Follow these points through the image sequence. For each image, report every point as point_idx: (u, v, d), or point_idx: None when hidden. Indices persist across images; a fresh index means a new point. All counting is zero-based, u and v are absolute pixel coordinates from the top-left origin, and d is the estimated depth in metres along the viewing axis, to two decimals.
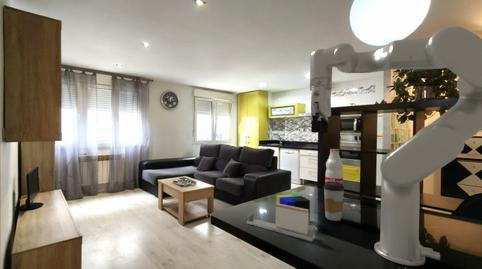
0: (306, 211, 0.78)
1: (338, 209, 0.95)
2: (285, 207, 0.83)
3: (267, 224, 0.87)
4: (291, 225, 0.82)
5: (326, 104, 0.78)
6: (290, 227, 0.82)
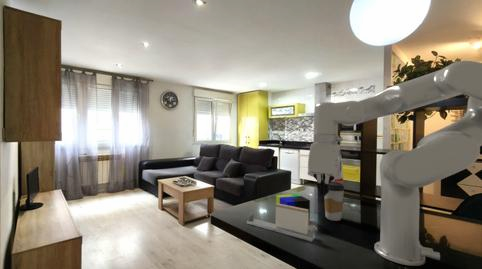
0: (306, 211, 0.78)
1: (338, 209, 0.95)
2: (285, 207, 0.83)
3: (267, 224, 0.87)
4: (291, 225, 0.82)
5: None
6: (290, 227, 0.82)
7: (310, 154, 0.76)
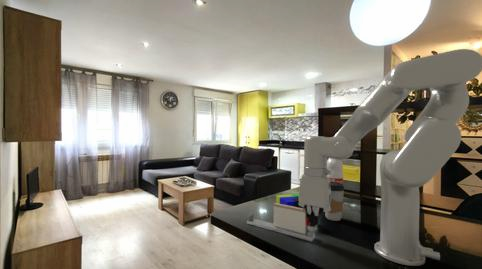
0: (304, 211, 0.79)
1: (338, 209, 0.95)
2: (283, 207, 0.83)
3: (267, 224, 0.87)
4: (289, 224, 0.82)
5: None
6: (288, 226, 0.82)
7: (300, 186, 0.78)
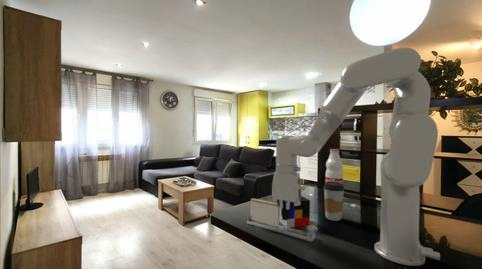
0: (277, 205, 0.85)
1: (338, 209, 0.95)
2: (259, 202, 0.89)
3: (267, 224, 0.87)
4: (264, 218, 0.88)
5: None
6: (263, 220, 0.88)
7: (273, 182, 0.84)
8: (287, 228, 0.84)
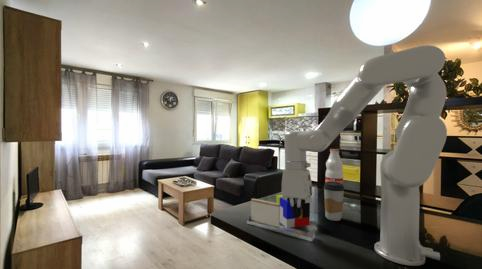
0: (277, 205, 0.85)
1: (338, 209, 0.95)
2: (259, 202, 0.89)
3: (267, 224, 0.87)
4: (264, 218, 0.88)
5: None
6: (263, 220, 0.88)
7: (283, 179, 0.82)
8: (287, 228, 0.84)
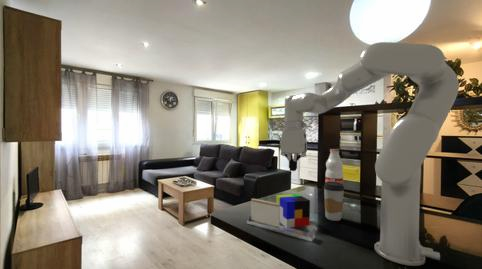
0: (277, 205, 0.85)
1: (338, 209, 0.95)
2: (259, 202, 0.89)
3: (267, 224, 0.87)
4: (264, 218, 0.88)
5: None
6: (263, 220, 0.88)
7: (282, 138, 0.94)
8: (287, 228, 0.84)
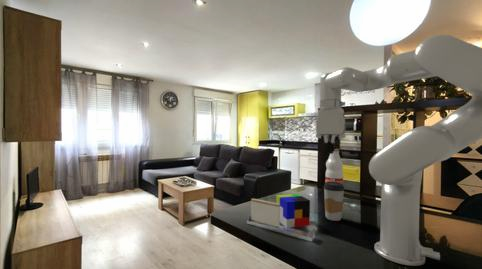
0: (277, 205, 0.85)
1: (338, 209, 0.95)
2: (259, 202, 0.89)
3: (267, 224, 0.87)
4: (264, 218, 0.88)
5: None
6: (263, 220, 0.88)
7: (318, 118, 0.88)
8: (287, 228, 0.84)
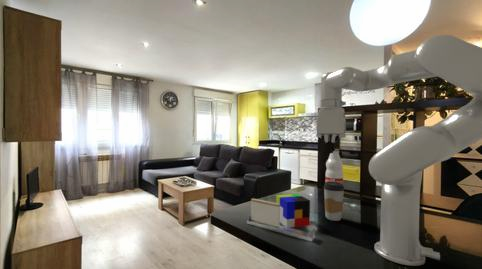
0: (277, 205, 0.85)
1: (338, 209, 0.95)
2: (259, 202, 0.89)
3: (267, 224, 0.87)
4: (264, 218, 0.88)
5: None
6: (263, 220, 0.88)
7: (318, 118, 0.88)
8: (287, 228, 0.84)
